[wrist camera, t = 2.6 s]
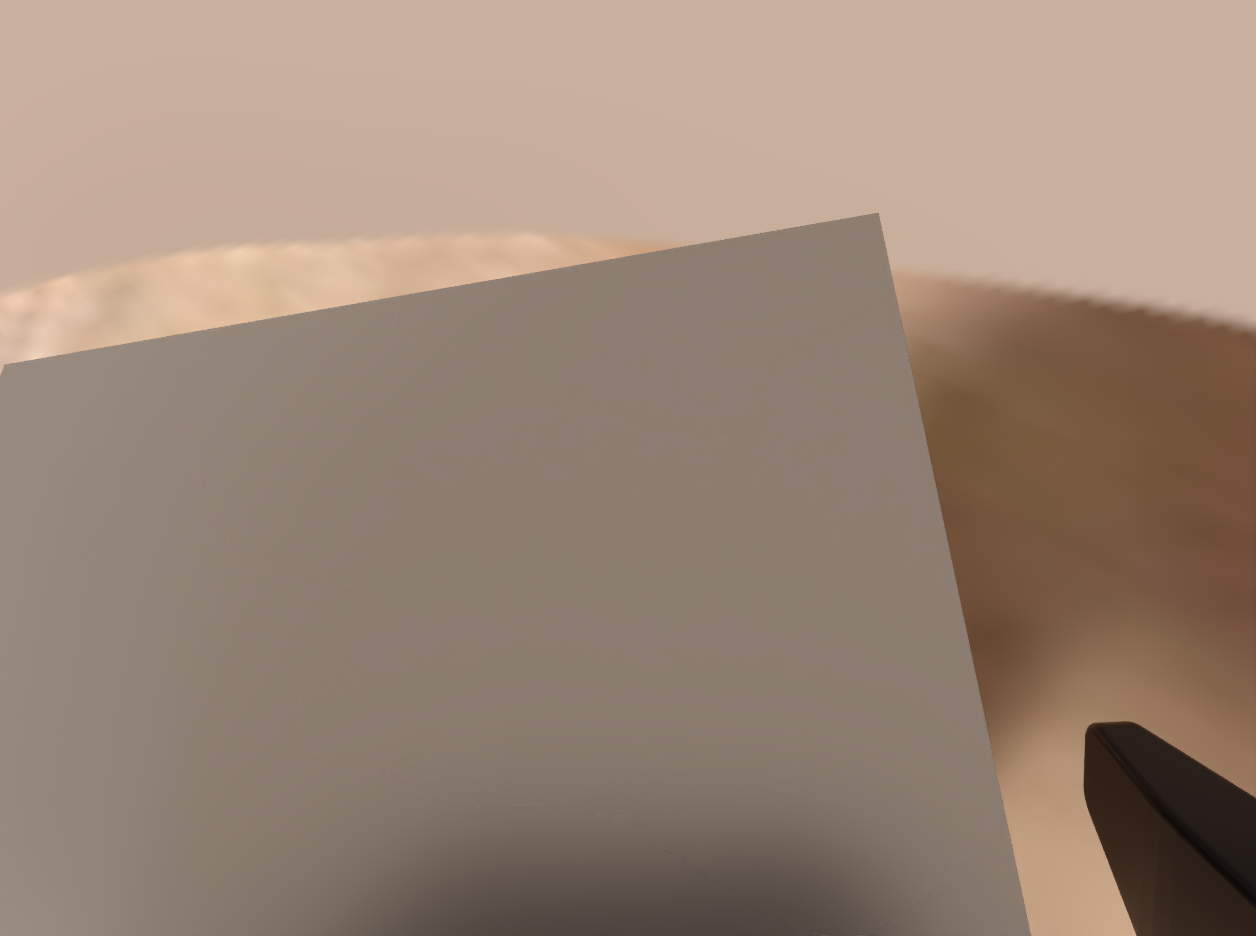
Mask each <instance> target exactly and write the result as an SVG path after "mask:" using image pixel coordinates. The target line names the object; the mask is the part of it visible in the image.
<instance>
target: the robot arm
mask: <svg viewBox="0 0 1256 936" xmlns="http://www.w3.org/2000/svg"><path fill="white" fill-rule="evenodd" d="M1084 795H1085V800H1086V804H1087V807H1088V811H1089V813H1090V816H1091V819H1092V821H1093V824H1094V826H1095V829H1096V832H1097V834H1098V837H1099V839H1100V842H1101V845H1102V847H1103V850H1104V852H1105V855H1106V857H1107V860H1108V863H1109V865H1110V868H1111V870H1112V873H1113V876H1114V878H1115V881H1116V883H1117V886H1118V889H1119V891H1120V894H1121V896H1122V899H1123V901H1124V904H1125V907H1126V909H1127V912H1128V914H1129V917H1130V920H1131V922H1132V925H1133V927H1134V930H1135V933H1136V935H1137V936H1256V798H1255V797H1254V796H1252V795H1250V794H1249V793H1247V792H1246V791H1244V790H1242V789H1241V788H1239V787H1238V786H1236V785H1234V784H1233V783H1231V782H1230V781H1228V780H1226V779H1225V778H1223V777H1222V776H1220V775H1218V774H1217V773H1215V772H1214V771H1212V770H1210V769H1209V768H1207V767H1206V766H1204V765H1202V764H1201V763H1199V762H1198V761H1196V760H1194V759H1193V758H1191V757H1190V756H1188V755H1187V754H1185V753H1183V752H1182V751H1180V750H1179V749H1177V748H1175V747H1174V746H1172V745H1171V744H1169V743H1167V742H1166V741H1164V740H1163V739H1161V738H1159V737H1158V736H1156V735H1155V734H1153V733H1151V732H1150V731H1148V730H1147V729H1145V728H1143V727H1142V726H1140V725H1138V724H1136V723H1133V722H1127V721H1123V722H1101V723H1093V724H1091V725H1090V726H1089V727H1088V728H1087V731H1086V734H1085V757H1084Z"/></svg>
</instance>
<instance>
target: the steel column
mask: <svg viewBox="0 0 1256 936" xmlns="http://www.w3.org/2000/svg"><path fill="white" fill-rule="evenodd" d="M0 936H1031V933H1030V929H1029V924H1028V919H1027V914H1026V910H1025V905H1024V900H1023V896H1022V891H1021V886H1020V881H1019V877H1018V872H1017V867H1016V862H1015V858H1014V853H1013V848H1012V843H1011V839H1010V834H1009V829H1008V824H1007V820H1006V815H1005V810H1004V805H1003V801H1002V796H1001V791H1000V786H999V782H998V777H997V772H996V768H995V763H994V758H993V753H992V749H991V744H990V739H989V734H988V730H987V725H986V720H985V715H984V711H983V706H982V701H981V696H980V692H979V687H978V682H977V677H976V673H975V668H974V663H973V659H972V654H971V649H970V644H969V640H968V635H967V630H966V625H965V621H964V616H963V611H962V606H961V602H960V597H959V592H958V587H957V583H956V578H955V573H954V568H953V564H952V559H951V554H950V549H949V545H948V540H947V535H946V531H945V526H944V521H943V516H942V512H941V507H940V502H939V497H938V493H937V488H936V483H935V478H934V474H933V469H932V464H931V459H930V455H929V450H928V445H927V440H926V436H925V431H924V426H923V421H922V417H921V412H920V407H919V403H918V398H917V393H916V388H915V384H914V379H913V374H912V369H911V365H910V360H909V355H908V350H907V346H906V341H905V336H904V331H903V327H902V322H901V317H900V312H899V308H898V303H897V298H896V294H895V289H894V284H893V279H892V275H891V270H890V265H889V260H888V256H887V251H886V246H885V241H884V237H883V232H882V227H881V222H880V218H879V213H875V214H869V215H864V216H858V217H852V218H847V219H840V220H835V221H829V222H823V223H817V224H812V225H806V226H800V227H794V228H788V229H783V230H777V231H771V232H766V233H760V234H754V235H748V236H743V237H737V238H732V239H725V240H719V241H714V242H708V243H702V244H697V245H691V246H685V247H679V248H673V249H668V250H662V251H656V252H650V253H645V254H639V255H633V256H627V257H622V258H616V259H610V260H604V261H599V262H593V263H587V264H581V265H576V266H570V267H564V268H558V269H553V270H547V271H541V272H535V273H530V274H524V275H518V276H512V277H507V278H501V279H495V280H489V281H484V282H478V283H472V284H466V285H461V286H455V287H449V288H443V289H438V290H432V291H426V292H420V293H415V294H409V295H403V296H397V297H392V298H386V299H380V300H374V301H369V302H363V303H357V304H351V305H346V306H340V307H334V308H328V309H323V310H317V311H311V312H305V313H300V314H294V315H288V316H282V317H277V318H271V319H265V320H259V321H254V322H248V323H242V324H236V325H231V326H225V327H219V328H213V329H208V330H202V331H196V332H190V333H185V334H179V335H173V336H167V337H162V338H156V339H150V340H144V341H139V342H133V343H127V344H122V345H116V346H110V347H104V348H98V349H93V350H87V351H81V352H76V353H70V354H64V355H58V356H53V357H47V358H41V359H35V360H30V361H24V362H18V363H12V364H7V365H4V368H3V370H2V373H1V376H0Z"/></svg>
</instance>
